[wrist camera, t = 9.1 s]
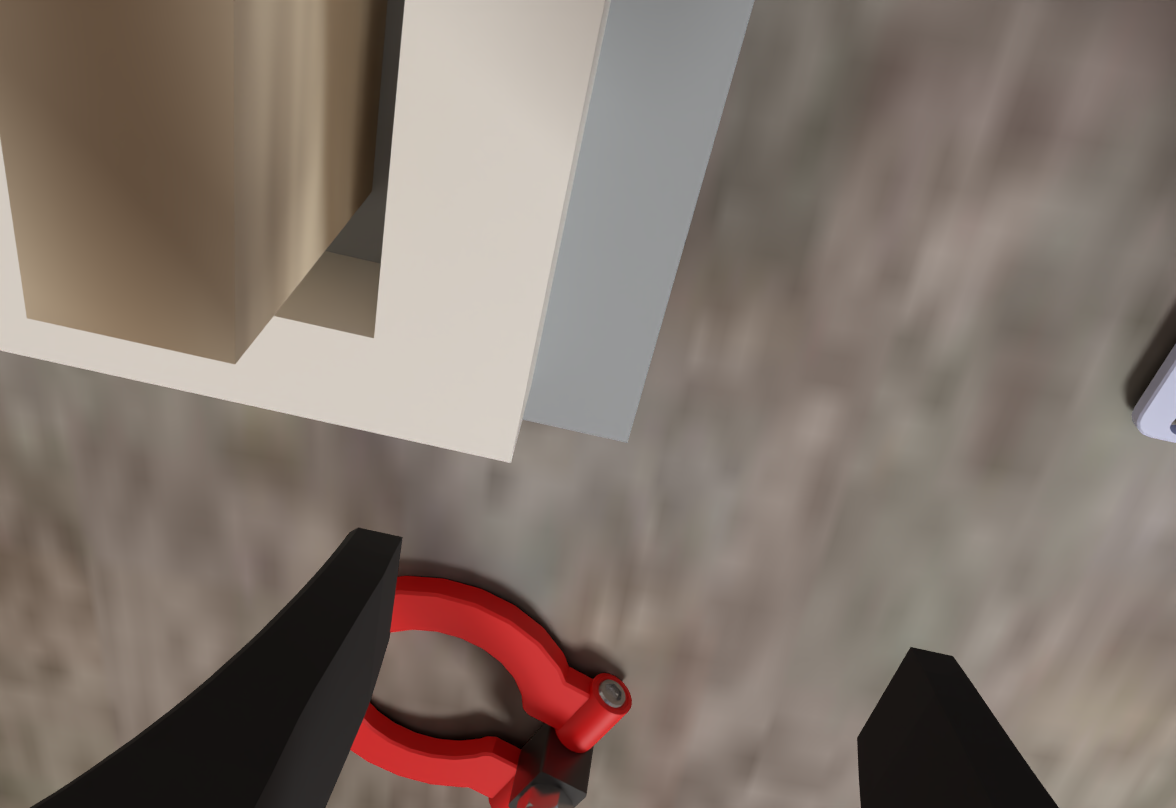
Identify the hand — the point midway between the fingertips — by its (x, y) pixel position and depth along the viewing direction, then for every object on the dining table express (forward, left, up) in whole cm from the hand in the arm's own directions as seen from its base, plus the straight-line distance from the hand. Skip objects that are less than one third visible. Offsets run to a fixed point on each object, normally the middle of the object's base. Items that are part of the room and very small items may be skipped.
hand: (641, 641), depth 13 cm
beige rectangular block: (+8, -4, -9) cm, 13 cm away
